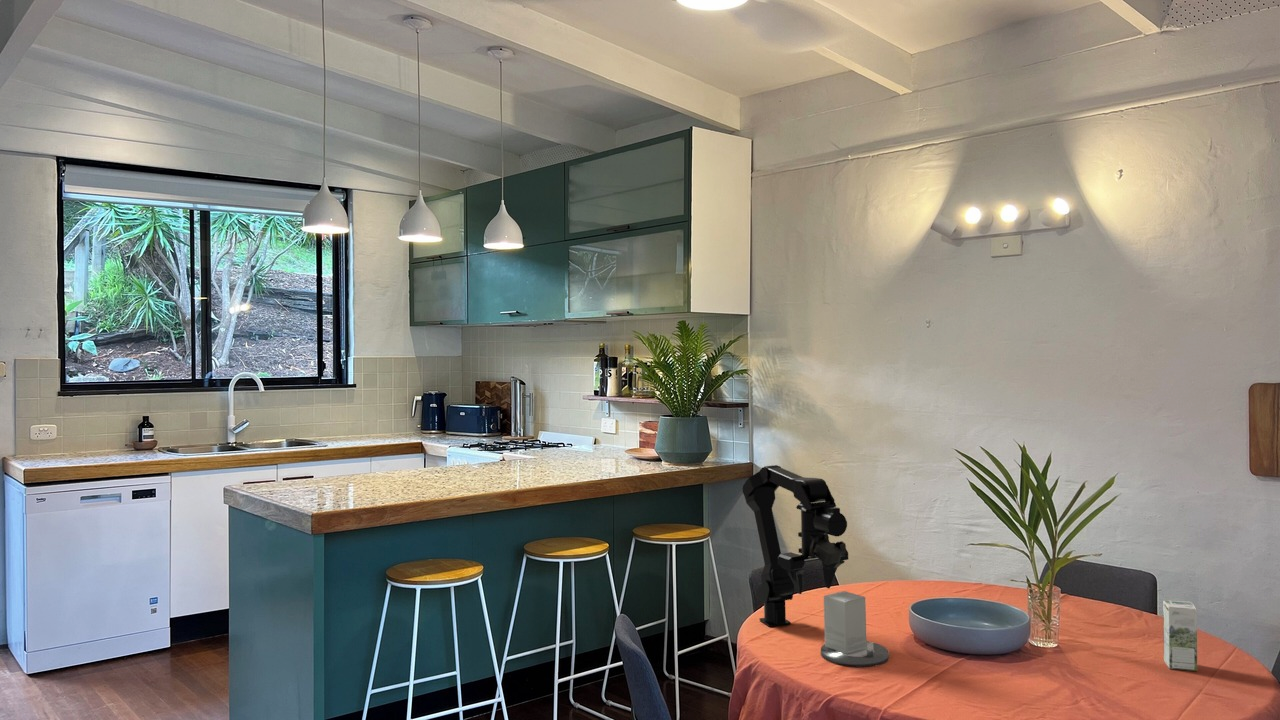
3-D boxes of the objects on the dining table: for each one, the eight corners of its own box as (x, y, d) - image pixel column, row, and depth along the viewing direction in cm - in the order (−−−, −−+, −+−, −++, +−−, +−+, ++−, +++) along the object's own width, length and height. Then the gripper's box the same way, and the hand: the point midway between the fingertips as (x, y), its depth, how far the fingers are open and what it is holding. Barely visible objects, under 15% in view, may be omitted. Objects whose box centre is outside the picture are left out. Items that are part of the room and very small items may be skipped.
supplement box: (867, 648, 218) (866, 596, 218) (845, 654, 214) (844, 601, 214) (845, 640, 224) (844, 590, 224) (823, 646, 220) (822, 595, 220)
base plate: (807, 651, 220) (806, 633, 220) (856, 640, 228) (855, 622, 228) (852, 671, 206) (852, 652, 206) (903, 658, 214) (903, 639, 214)
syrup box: (1191, 663, 207) (1190, 600, 207) (1198, 672, 202) (1197, 607, 201) (1163, 660, 209) (1162, 598, 209) (1169, 669, 204) (1168, 605, 203)
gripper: (804, 539, 215) (806, 604, 216) (863, 530, 225) (864, 592, 225) (775, 531, 225) (776, 593, 225) (832, 523, 234) (834, 582, 234)
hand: (814, 590), depth 227 cm, fingers open, 9 cm apart
